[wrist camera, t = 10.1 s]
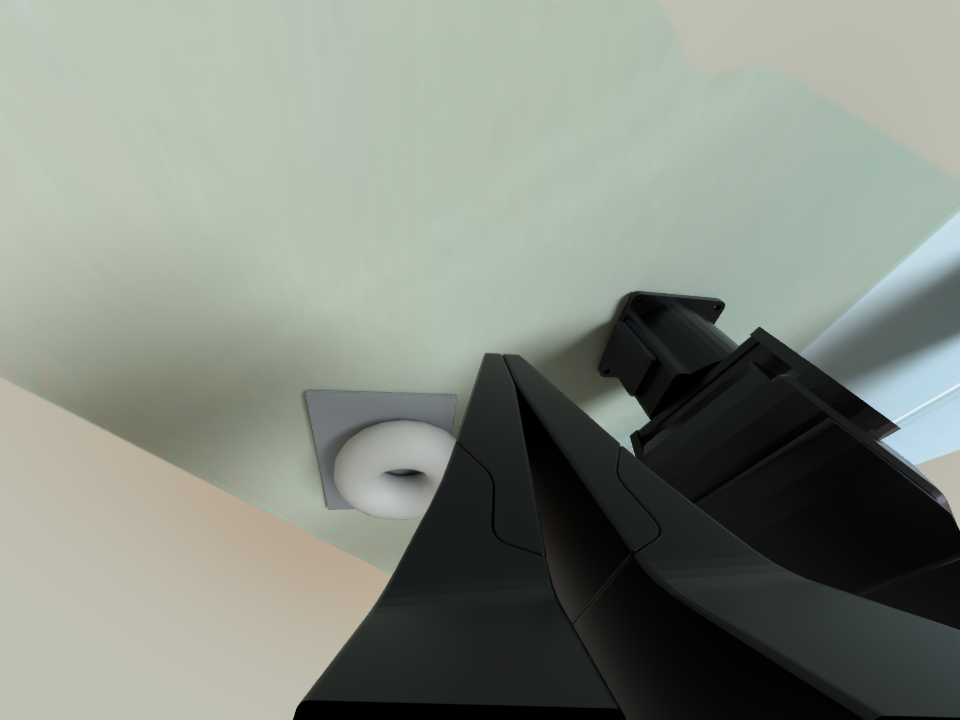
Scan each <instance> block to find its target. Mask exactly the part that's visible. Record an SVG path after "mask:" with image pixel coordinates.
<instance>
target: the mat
mask: <svg viewBox="0 0 960 720" xmlns="http://www.w3.org/2000/svg"><path fill="white" fill-rule="evenodd" d="M305 395H306V400H307V405H308V410H309V415H310V420H311V425H312V430H313V435H314V440H315V445H316V451H317V456H318V461H319V466H320V471H321V476H322V481H323V486H324V491H325V496H326V501H327V507H328V510H338V509H354V508H353V507H352V506H351V505H350V504H349V503H348V502H346V501H345V500H344V499H343V498H342V497H341V495H340V493H339V491H338V489H337V487H336V485H335V482H334V467H335V460H336V457H337V455H338V454H339V452H340V451H341V449H342V448H343V446H344V445H345V443H346V442H347V441H348V440H349V439H350V438H352V437H353V436H355V435H356V434H357V433H359V432H360V431H362V430H363V429H365V428H368V427H371V426H374V425H377V424H380V423H383V422H388V421H399V420H410V421H419V422H425V423H428V424H431V425H434V426H436V427H439V428H442V429H444V430H445V431H447V432H448V433H449V434H451V432H452V425H453V419H454V412H455V405H456V395H443V394H413V393H383V392H353V391H322V390H307V391H306V394H305ZM386 472H387V473H390V474H393V475H400V476H407V475H414V474H418V473H421V472H420V471H417V470H413V469H394V470H389V471H386Z"/></svg>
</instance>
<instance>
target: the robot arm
mask: <svg viewBox="0 0 960 720" xmlns="http://www.w3.org/2000/svg"><path fill="white" fill-rule="evenodd" d="M638 298H640V300H639V301H637V302H635V301H636V300H637V299H638ZM715 306H716V307H715ZM714 307H715V308H714ZM724 308H725V303H724V302H723V301H721V300H720V299H717V298H707V297H697V296H686V295H675V294H665V293H654V292H644V291H636V292H634V293H633V294H631V295H630V297H629V299H628V301H627V303H626V306H625V308H624V310H623V312H622V315H621V317H620V319H619V321H618V323H617V324H616V326H615V329H614V331H613V333H612V335H611V338H610V340H609V342H608V344H607V347H606V349H605V351H604V354H603V358H602V360H601V362H600V365H599V367H598V372H599V374H600V375H601V376H602V377H617V378H619V380H620V382H621V383H622V385H623V386H624V388H625V389H626V391H627V392H628V394H629V395H630V396H635V398H636V399H637V401H638V402H639V404H640V405H641V407H642V408H643V410H644V411H645V413H646V414H647V416H648V417H649V419H650V420H651V421H649V422H648V423H647V424H646V425H645V426H643V427H642V428H641V429H640V430H639V431H638V430H636V431H635V432H634V433H633V434H631V435H630V439H631V442H632V446H633V449H634V453H635V456H636V457H635V456H634V455H633V454H631V453H630V452H629V451H628V450H627V449H626V448H625V447H623V446H621V447H620V443H619V442H618V441H616V440H615V439H614V438H613V437H612V436H611V435H610V434H608V433H607V432H606V431H605V430H604V429H603V428H602V427H601V426H599V425H598V424H597V423H596V422H595V421H594V420H593V419H591V418H590V417H589V416H588V415H587V414H586V413H585V412H583V411H582V410H581V409H580V408H579V407H578V406H577V405H576V404H574V403H573V402H572V401H571V400H570V399H569V398H568V397H566V396H565V395H564V394H563V393H562V392H561V391H560V390H558V389H557V388H556V387H555V386H554V385H553V384H552V383H551V382H549V381H548V380H547V379H546V378H545V377H544V376H543V375H541V374H540V373H539V372H538V371H537V370H536V369H535V368H534V367H532V366H531V365H530V364H529V363H528V362H527V361H526V360H524V359H523V358H522V357H521V356H520V355H517V354H503V355H501V354H498V353H485V354H484V357H483V360H482V363H481V366H480V369H479V372H478V375H477V378H476V381H475V384H474V387H473V390H472V393H471V396H470V399H469V402H468V405H467V408H466V411H465V414H464V417H463V420H462V423H461V426H460V429H459V432H458V435H457V438H456V441H455V445H454V447H453V450H452V453H451V456H450V459H449V462H448V464H447V467H446V469H445V472H444V475H443V477H442V480H441V482H440V484H439V486H438V488H437V490H436V493H435V495H434V497H433V499H432V501H431V503H430V505H429V507H428V509H427V511H426V513H425V515H424V516H423V518H422V520H421V522H420V524H419V526H418V528H417V530H416V532H415V534H414V535H413V537H412V539H411V541H410V543H409V545H408V547H407V549H406V551H405V553H404V554H403V556H402V558H401V560H400V562H399V564H398V566H397V568H396V570H395V571H394V573H393V575H392V577H391V579H390V580H389V582H388V584H387V586H386V587H385V589H384V591H383V593H382V594H381V595H380V597H379V599H378V600H377V602H376V603H375V605H374V606H373V608H372V610H371V611H370V612H369V614H368V615H367V616H366V618H365V619H364V620H363V621H362V623H361V624H360V625H359V627H358V628H357V629H356V631H355V632H354V633H353V635H352V636H351V637H350V639H349V640H348V641H347V642H346V644H345V645H344V646H343V648H342V649H341V650H340V652H339V653H338V654H337V656H336V657H335V658H334V660H333V661H332V662H331V663H330V665H329V666H328V667H327V668H326V670H325V671H324V672H323V674H322V675H321V676H320V678H319V679H318V680H317V681H316V683H315V684H314V685H313V687H312V688H311V689H310V691H309V692H308V693H307V695H306V696H305V697H304V699H303V700H302V701H301V702H300V704H299V705H298V707H297V709H296V712H295V715H294V718H293V720H960V530H959V528H958V526H957V524H956V521H955V519H954V516H953V514H952V511H951V509H950V506H949V504H948V501H947V500H946V498H945V496H944V495H943V494H942V493H941V492H940V491H939V490H938V489H937V488H936V487H935V486H934V485H933V484H932V483H931V482H930V481H929V480H928V479H927V478H926V477H925V476H924V475H923V474H922V473H921V472H920V471H919V470H918V469H917V468H916V467H915V466H914V465H913V464H912V463H910V462H909V461H908V460H906V459H905V458H904V457H902V456H901V455H900V454H899V453H897V452H896V451H895V450H893V449H892V448H891V447H889V446H888V445H887V444H886V443H884V442H883V441H882V439H883V438H885V437H887V436H889V435H891V434H892V433H894V432H896V431H898V430H899V429H901V428H899V427H898V426H897V425H895V424H894V423H893V422H891V421H890V420H889V419H887V418H886V417H885V416H883V415H882V414H881V413H879V412H878V411H876V410H875V409H874V408H872V407H871V406H870V405H868V404H867V403H865V402H864V401H863V400H861V399H860V398H859V397H857V396H856V395H854V394H853V393H852V392H850V391H849V390H848V389H846V388H845V387H843V386H842V385H841V384H839V383H838V382H837V381H835V380H834V379H832V378H831V377H830V376H828V375H827V374H825V373H824V372H823V371H821V370H820V369H818V368H817V367H816V366H814V365H813V364H811V363H810V362H809V361H807V360H806V359H804V358H803V357H802V356H800V355H799V354H797V353H796V352H794V351H793V350H792V349H790V348H789V347H787V346H786V345H785V344H783V343H782V342H780V341H779V340H778V339H776V338H775V337H773V336H772V335H771V334H769V333H768V332H766V331H765V330H764V329H762V328H761V327H758V328H757V329H756V330H755V331H754V332H752V333H751V334H750V335H751V337H750V338H748V339H747V340H746V341H745V342H744V343H742V344H741V345H740V346H739V345H737V344H736V343H735V342H734V341H733V340H731V339H730V338H729V337H728V336H727V335H725V334H724V333H723V332H722V331H720V330H719V329H718V328H717V327H716V326H714V324H715V322H716V321H717V319H718V318H719V316H720V314H721V313H722V311H723V310H724ZM605 369H607V370H605ZM604 370H605V371H604Z"/></svg>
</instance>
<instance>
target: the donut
mask: <svg viewBox="0 0 960 720" xmlns="http://www.w3.org/2000/svg"><path fill="white" fill-rule="evenodd" d="M455 441H456V438H455V437H453V436H452V435H451V434H449V433H448V432H447V431H445V430H444V429H442V428H439V427H436V426H434V425H431V424H428V423H425V422H419V421H410V420H399V421H388V422H383V423H380V424H377V425H374V426H371V427H368V428H365V429H363V430H362V431H360V432H359V433H357V434H356V435H355V436H353V437H352V438H350V439H349V440H348V441H347V442H346V443H345V445H344V446H343V448H342V449H341V451H340V452H339V454H338V455H337V457H336V460H335V467H334V482H335V485H336V487H337V489H338V491H339V493H340V495H341V497H342V498H343V499H344V500H345V501H346V502H348V503H349V504H350V505H351V506H352V507H353V508H354V509H356V510H358V511H361V512H363V513H365V514H367V515H370V516H374V517H379V518H383V519H399V520H403V519H412V518H420V517H423V516H424V515H425V513H426V511H427V509H428V507H429V505H430V503H431V501H432V499H433V497H434V495H435V493H436V490H437V488H438V486H439V484H440V482H441V480H442V477H443V475H444V472H445V469H446V467H447V464H448V462H449V459H450V456H451V453H452V450H453V447H454V445H455ZM394 469H413V470H417V471H420V472H421V473H418V474H414V475H407V476H400V475H393V474H390V473H387V472H386V471H389V470H394Z"/></svg>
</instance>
